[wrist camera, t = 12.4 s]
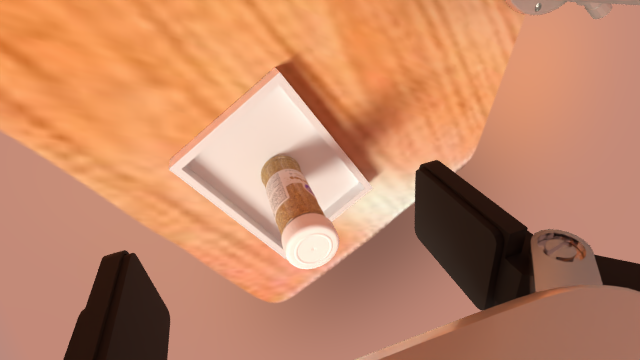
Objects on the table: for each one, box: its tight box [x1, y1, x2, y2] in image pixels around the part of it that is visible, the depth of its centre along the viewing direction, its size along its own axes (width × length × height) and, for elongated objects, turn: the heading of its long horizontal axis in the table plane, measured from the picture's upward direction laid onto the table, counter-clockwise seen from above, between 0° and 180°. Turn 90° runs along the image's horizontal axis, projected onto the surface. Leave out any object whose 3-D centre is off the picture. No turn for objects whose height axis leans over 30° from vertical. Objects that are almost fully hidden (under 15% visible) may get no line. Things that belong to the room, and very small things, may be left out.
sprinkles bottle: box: [261, 155, 339, 269], centre depth 33 cm, size 5×5×13 cm
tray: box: [169, 68, 373, 259], centre depth 38 cm, size 18×14×2 cm
